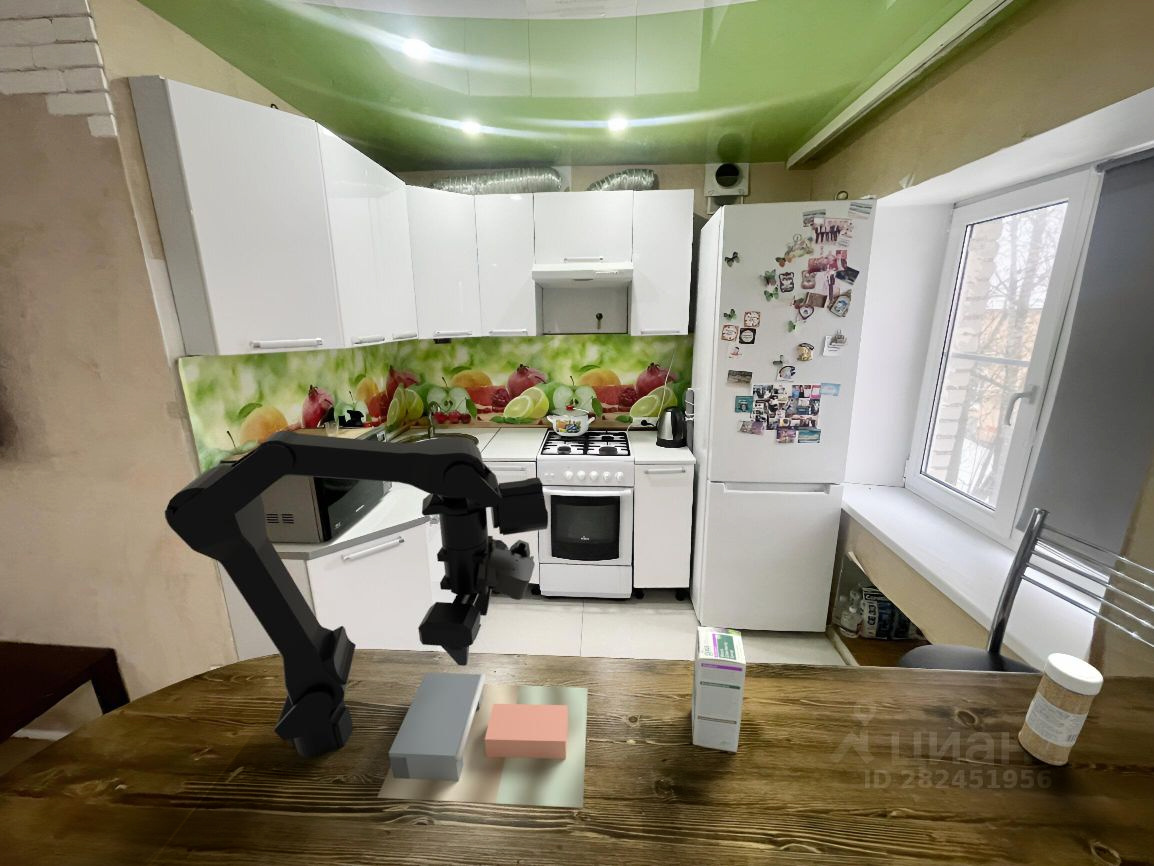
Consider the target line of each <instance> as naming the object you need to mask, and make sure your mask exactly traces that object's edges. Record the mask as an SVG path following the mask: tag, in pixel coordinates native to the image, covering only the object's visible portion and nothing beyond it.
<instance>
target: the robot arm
mask: <svg viewBox="0 0 1154 866" xmlns="http://www.w3.org/2000/svg"><path fill="white" fill-rule="evenodd" d="M285 476H294V477H295V476H296V477H297V476H298V477H308V478H309V477H312V478H325V479H326V478H327V479H328V478H329V479H341V480H343V479H344V480H355V481H356V480H357V481H373V482H384V483H386V482H387V483H388V482H389V483H399V484H405V485H409V486H412V487H414V488H416V489H418V490H421V491H422V492H425V493H427V496H426V497H424V498H423V499H422V506H421V507H422V508H421V515H423V516H424V517H427V516H436V515H438V519H439V525H440V538H441V545H442V546H441V548H440V549H439V551H438V552H437V554H436V557H437V558H436V559H437V562H442V563H443V567H444V575H443V577H442V578H441V581H440V582H439V583H440V584H439V586H440V587H439V588H440V590H441V591H442V590H445V591H446V590H447V591H450V592H451V593H452V594H454V595H455V597H454V600H453V601H452V602H445V601H444V602H442V601H436V602H435V603H434V604H432V605H431V606H430V607H429V608H428V610H427V612H426V613H425V615H424V617H423V619H422V621H421V623H419V626H418V627H417V628H418V636H419V642H420V643H421V644H422V645H424V646H437V647H439V646H440V647H442V649H443V650H444V651H445V652H446V653H447V654H448V656H450V658H451V659H453V661H454V662H455V663H456V664H457V665H458V666H464V667H465V666H467V664H468V661H469V654H470V646H472V645H474V642H475V640H476V639H477V635H478V634H479V631H480V629H481V626H482V624H481V617H482V616H484V617H485V616H487V615H488V611H489V605H490V599H491V596H492V591H495V592H497V593H500V594H503V595H505V596H508V597H510V598H511V599H513V600H517V601H519V600H522V599H524V597H525V594H526V592H527V589H528V586H529V583H530V581H531V578H532V576H533V572H534V569H535V565H536V564H535V561H534V558H535V556H533V555H531V550H530V543H529V542H527V541H524V540H523V539H522V540H521V539H518V540H516V541H515V542H514V543H513V544H512V545H511V546H510V547H508V545H507V544H506V543H505V542H504V541H503V540H502V539H495V538H494V536H493V535H489V532H488V531H489V530H488V527H489V526H488V515H487V514H488V513H487V512H488V511H487V508H490V515H491V522H492V528H493V529H498V532H499V535H503V536H507V535H508V536H509V535H515V534H522V533H529V532H536V531H544V530H547V529H548V526H549V512H548V509H547V507H546V500H545V495H544V491H543V490H544V489H543V488H544V484H543V482H542V480H541V478H540V477H538V476H537V477H531V478H526V479H523V480H517V481H515V480H514V481H506V482H499V481H498V478H497V476H496V474H495V472H493V471H492V470H491V469H490V468H489V467H488V466H487V464H485V463H484V461H483V457H482V454H481V451H480V448H479V447H478V446H477V445H476V443H474V441H473V440H471V439H469V438H467V437H461V436H456V437H455V436H454V437H453V436H451V437H439V438H436V437H435V438H431V439H427V440H421V441H417V442H406V443H404V442H403V443H401V442H395V441H394V442H391V441H382V440H372V439H371V440H370V439H360V438H359V439H358V438H349V437H347V438H346V437H338V436H330V435H329V436H328V435H327V436H326V435H318V434H317V435H316V434H306V433H305V434H304V433H298V432H296V431H292V430H279V431H276V432H273V433H272V434H271V435H270V436H269V437H267V438H266V439H265V440H264V441H263V442H261V444H260V445H258V446H257V447H255V448H253V449H252V450H251V451H249V452H248V453H246V454H244V455H243V456H242V457H240V458H239V459H238V460H237V461H235V462H234V463H232V464H231V465H220V466H213V467H211V468H208V469H207V470H205V471H204V472H203V473H201V474H199V476H197V477H196V478H195V479H194V480H192V481H191V482H189V483H188V484H187V485H185V486H184V487H183V488H182V489H181V490H179V491H178V492H177V493H175V495H174V496H172V497H171V499H169V502H168V504H167V506H166V509H165V510H164V518H165V520H166V521H165V522H166V523H167V525H168V526H169V528H170V529H171V530H172V531H173V532H174V533H176V535H177V536H178V537H179V538H180V539H181V540H182V541H183V542H184V543H185V544H186V545H187V546H188V548H190V549H191V550H192V551H194V552H196V553H199V554H200V555H203V556H206V557H208V558H211V559H212V560H215V561H217V562H218V563H219V564H220V565H221V566H222V567H223V569H224V570H225V572H226V574H227V575H228V576H229V578H230V579H231V581H232V582H233V584H234V585H235V587H236V589H237V590H238V591H239V593H240V595H241V596H242V597H243V599H244V601H245V602H246V604H247V606H248V607H249V609H250V610H251V612H252V613H253V615H254V616H255V617H256V619H257V620H258V622H259V624H260V625H261V627H262V628H263V630H264V631H265V633H266V635H267V636H268V637H269V639H270V640H271V642H272V644H273V645H274V647H275V648H276V650H277V651H278V652H279V654H280V655H281V658H282V664H283V674H284V687H285V689H286V693H287V695H286V698H285V700H284V703H283V706H282V708H281V711H280V714H279V716H278V719H277V722H276V725H275V727H274V732H275V734H276V735H277V736H278V737H280V739H282V741H289V743H290V746H291V748H292V749H296V750H297V753H298V755H300V757H302V758H307V759H313V758H317V757H318V758H319V757H320V756H321V757H322V756H323V755H325V754H327V753H328V752H330V751H337V750H339V749H342V748H344V747H345V746H346V743H347V742H348V741H349V739H350V737H351V735H352V733H353V731H354V724H353V721H352V716H351V711H350V708H349V707H348V706H346V702H345V696H346V691H347V690H346V689H347V686H348V684H349V683H348V682H349V679H350V674H351V669H352V665H353V661H354V653H355V651H356V643H354V642H352V640H351V639H350V638H349V637H348V634H347V630H346V627H345V626H343V625H341V626H338V627H337V628H335V629H334V630H332V629H330V628H326V627H324V626H322V625H321V624H320V623H319V621H318V619H317V617H316V615H315V614H314V612H313V611H312V608H311V607H310V606H309V604H308V602H307V601H306V598H305V597H304V595H303V593H302V592H301V591H300V589H299V587H298V585H297V584H296V582H295V581H294V578H293V577H292V575H291V574H290V572H289V570H288V568H287V567H286V565H285V564H284V562H283V560H282V558H281V557H280V555H279V554H278V552H277V550H276V548H275V547H274V545H273V543H272V542H271V540H270V538H269V537H268V534H267V526H266V515H265V513H266V512H265V506H264V505H265V504H264V502H263V499H262V496H261V494H262V493H264V492H265V491H266V490H267V489H269V487H271V486H272V485H273V484H275V483H276V482H277V481H279V480H280V479H282V478H284V477H285Z"/></svg>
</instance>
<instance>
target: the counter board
mask: <svg viewBox="0 0 1154 866" xmlns="http://www.w3.org/2000/svg"><path fill="white" fill-rule="evenodd" d="M588 689H589V688H588V687H576V686H550V685H549V686H548V685H547V686H544V685H521V684H519V685H517V684H513V685H512V684H493V683H492V684H489V683H488V684H486V683H484V685H483V688H482V690H483V700H482V703H481V707H480V710H478V709H476V711H475V715H474V718H473V721H472V725H471V728H470V731H469V735H468V738H467V741H466V745H465V748H464V751H463V763H464V765H463V769H462V772H461V775H460V779H459V781H444V780H423V779H402V778H394V776H393V772H392V767H391V766H390V767H389V768H388V769H389V770H388V772H387V774H386V776H385V779H384V781H383V784H382V786H381V788H380V790H379V792H378V795H377V798H378V799H379V798H381V799H382V798H383V799H398V800H400V799H401V800H416V801H417V800H418V801H419V800H420V801H437V802H438V801H439V802H458V803H459V802H460V803H478V804H479V803H480V804H497V805H516V806H517V805H519V806H537V807H555V808H556V807H560V808H577V809H578V808H579V809H584V793H585V789H584V787H585V785H584V784H585V768H586V767H585V765H586V763H585V762H586V761H585V760H586V738H587V719H588V718H587V715H588V713H587V712H588V692H589V691H588ZM493 704H531V705H568V734H567V750H566V759H549V758H511V757H487V755H486V746H485V736H486V732H487V728H488V724H489V720H490V716H491V712H492V708H493Z"/></svg>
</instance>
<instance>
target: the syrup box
mask: <svg viewBox="0 0 1154 866" xmlns="http://www.w3.org/2000/svg"><path fill="white" fill-rule="evenodd" d="M741 634H742V633H741V631H739V630H734V629H728V628H723V627H715V626H699V625H697V627H696V634H695V635H696V636H695V646H694V649H695V651H694V660H693V661H694V663H693V664H694V665H693V679H692V680H693V683H692V692H691V693H692V694H691V695H692V696H691V729H692V730H691V732H692V744H693V745H695V746H699V747H703V748H708V749H709V748H710V749H714V750H720V751H721V750H722V751H727V752H733V753H737V751H738V746H739V738H740V729H741V719H742V709H743V701H744V690H745V678H746V670H747V669H746V668H747V663H746V658H745V652H744V645H743V639H742V635H741Z"/></svg>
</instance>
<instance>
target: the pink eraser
mask: <svg viewBox="0 0 1154 866" xmlns="http://www.w3.org/2000/svg"><path fill="white" fill-rule="evenodd" d="M567 734H568V705H531V704H493V708H492V712H491V716H490V720H489V724H488V728H487V732H486V736H485V746H486V755H487V757H511V758H549V759H566V750H567Z"/></svg>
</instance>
